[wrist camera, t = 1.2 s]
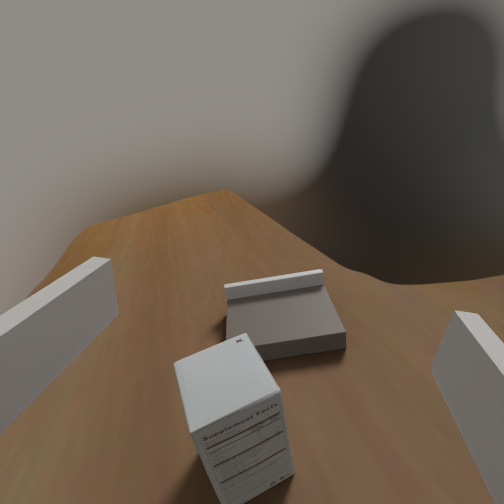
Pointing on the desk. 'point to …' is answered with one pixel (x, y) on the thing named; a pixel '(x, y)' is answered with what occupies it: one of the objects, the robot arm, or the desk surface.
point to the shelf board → (285, 315)
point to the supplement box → (235, 419)
